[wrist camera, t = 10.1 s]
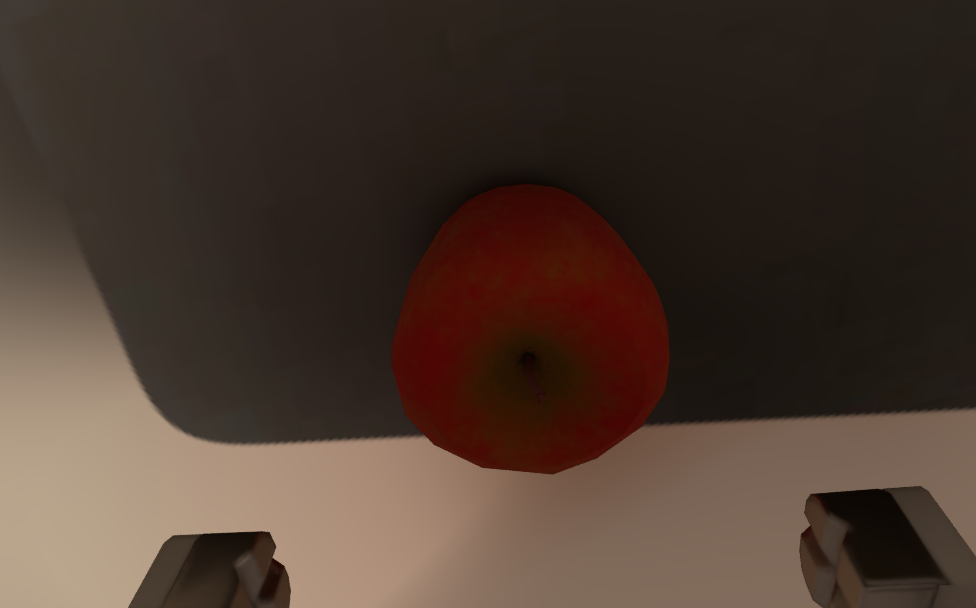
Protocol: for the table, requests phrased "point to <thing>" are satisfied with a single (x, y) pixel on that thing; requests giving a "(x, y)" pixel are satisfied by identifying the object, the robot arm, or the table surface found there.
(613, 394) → the apple
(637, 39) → the table surface
